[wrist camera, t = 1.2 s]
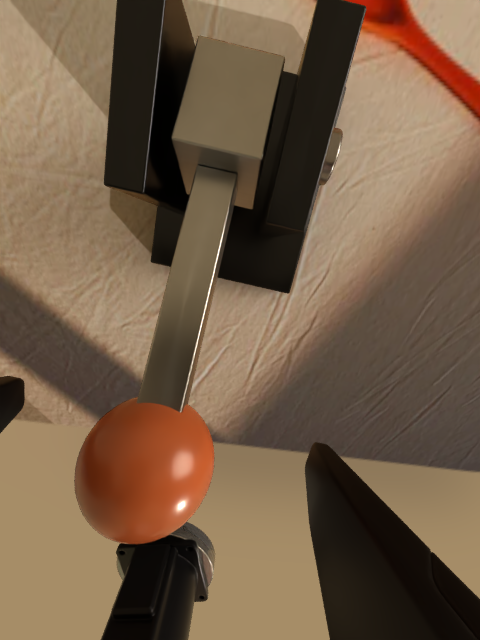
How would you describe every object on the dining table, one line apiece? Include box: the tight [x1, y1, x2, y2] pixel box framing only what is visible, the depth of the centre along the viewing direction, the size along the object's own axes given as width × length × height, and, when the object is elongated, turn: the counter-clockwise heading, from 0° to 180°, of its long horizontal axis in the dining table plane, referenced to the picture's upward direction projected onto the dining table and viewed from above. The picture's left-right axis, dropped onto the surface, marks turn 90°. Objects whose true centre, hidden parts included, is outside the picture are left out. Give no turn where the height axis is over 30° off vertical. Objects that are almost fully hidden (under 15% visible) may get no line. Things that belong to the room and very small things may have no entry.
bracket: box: [104, 0, 366, 293], centre depth 10 cm, size 10×8×9 cm
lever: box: [74, 36, 285, 544], centre depth 7 cm, size 12×3×3 cm, turn 167°
